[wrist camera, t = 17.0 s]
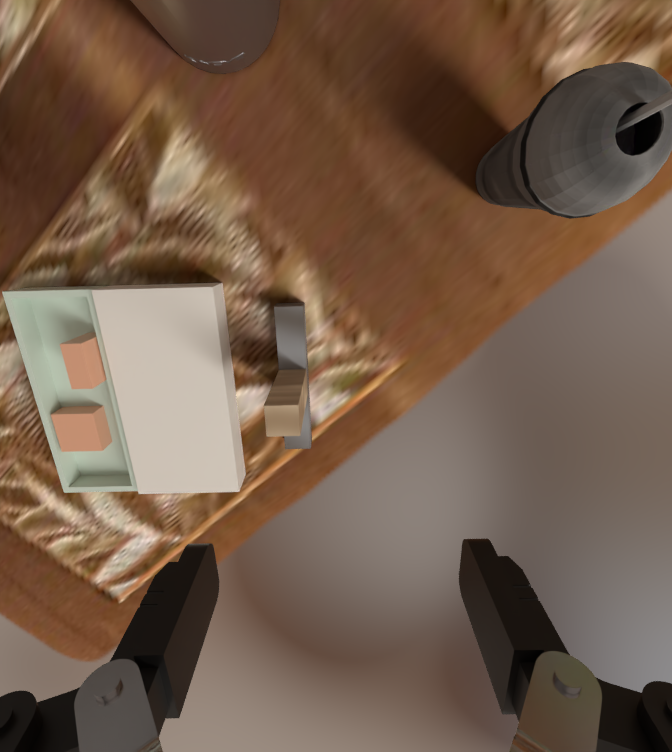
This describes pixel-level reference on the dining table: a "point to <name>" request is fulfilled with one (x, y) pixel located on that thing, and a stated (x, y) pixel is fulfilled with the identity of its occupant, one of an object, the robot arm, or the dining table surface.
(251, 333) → the dining table surface
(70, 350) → the tile
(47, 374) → the tray
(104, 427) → the tile
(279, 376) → the scraper
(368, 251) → the dining table surface
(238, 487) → the stone plate
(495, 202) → the beverage cup
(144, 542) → the dining table surface
